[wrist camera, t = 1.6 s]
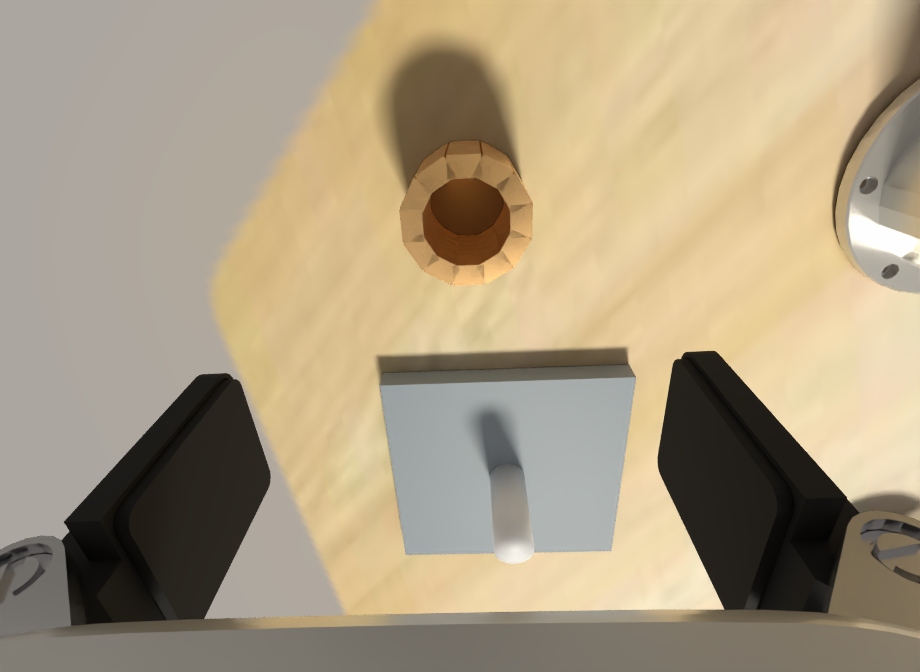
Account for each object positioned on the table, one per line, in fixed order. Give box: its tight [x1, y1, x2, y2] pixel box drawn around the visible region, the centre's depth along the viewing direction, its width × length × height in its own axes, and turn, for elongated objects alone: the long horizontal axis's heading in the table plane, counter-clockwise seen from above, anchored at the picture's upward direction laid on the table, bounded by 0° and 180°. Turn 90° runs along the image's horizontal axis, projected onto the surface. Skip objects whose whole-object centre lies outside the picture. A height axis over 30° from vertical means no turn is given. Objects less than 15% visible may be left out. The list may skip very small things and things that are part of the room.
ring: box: [399, 140, 533, 286], centre depth 24 cm, size 6×6×5 cm
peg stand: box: [380, 365, 636, 564], centre depth 32 cm, size 16×16×8 cm
